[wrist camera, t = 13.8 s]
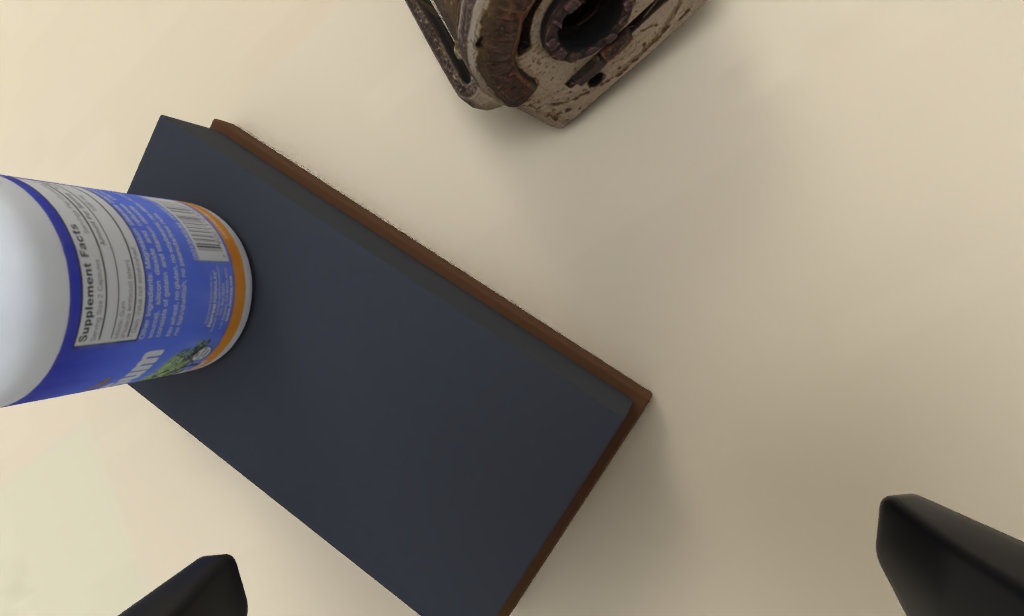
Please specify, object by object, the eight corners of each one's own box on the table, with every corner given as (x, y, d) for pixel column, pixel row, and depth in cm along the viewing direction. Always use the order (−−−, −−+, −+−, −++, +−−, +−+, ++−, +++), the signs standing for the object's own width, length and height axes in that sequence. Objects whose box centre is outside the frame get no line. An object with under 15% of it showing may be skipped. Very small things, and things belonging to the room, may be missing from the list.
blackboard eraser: (653, 393, 20) (643, 418, 17) (511, 609, 22) (476, 672, 19) (232, 123, 24) (154, 99, 21) (139, 327, 26) (53, 336, 22)
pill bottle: (129, 373, 22) (-303, 453, 12) (111, 210, 21) (-342, 166, 12) (268, 365, 20) (-105, 448, 11) (250, 189, 20) (-145, 120, 11)
